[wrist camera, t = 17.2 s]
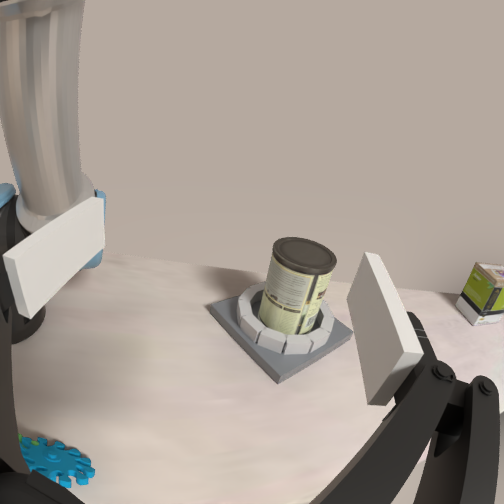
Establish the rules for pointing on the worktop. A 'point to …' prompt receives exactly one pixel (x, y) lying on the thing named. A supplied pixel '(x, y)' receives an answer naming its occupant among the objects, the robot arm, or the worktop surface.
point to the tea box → (483, 294)
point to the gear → (56, 461)
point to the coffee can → (295, 285)
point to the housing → (278, 335)
